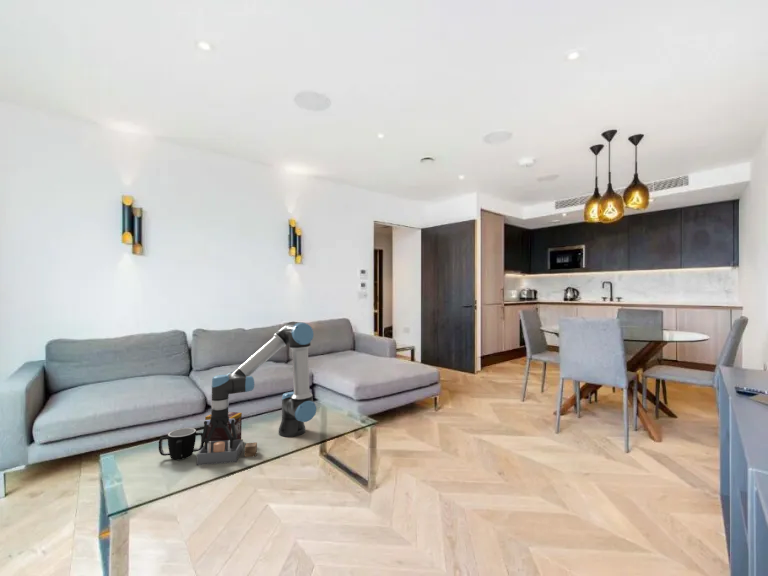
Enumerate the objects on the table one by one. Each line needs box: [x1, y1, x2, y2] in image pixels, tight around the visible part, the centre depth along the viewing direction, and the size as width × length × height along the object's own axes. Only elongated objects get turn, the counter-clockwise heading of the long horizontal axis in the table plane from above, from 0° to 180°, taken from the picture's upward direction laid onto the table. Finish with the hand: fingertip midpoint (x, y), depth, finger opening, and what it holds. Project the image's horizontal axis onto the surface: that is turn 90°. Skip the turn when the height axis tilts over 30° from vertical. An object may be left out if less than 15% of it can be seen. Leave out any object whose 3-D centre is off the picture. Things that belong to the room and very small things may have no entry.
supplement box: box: [203, 411, 243, 446], centre depth 194 cm, size 10×15×16 cm
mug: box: [158, 427, 205, 461], centre depth 177 cm, size 16×16×12 cm
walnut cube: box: [244, 442, 258, 458], centre depth 180 cm, size 5×5×5 cm
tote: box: [196, 438, 244, 466], centre depth 177 cm, size 17×15×5 cm
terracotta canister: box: [213, 441, 225, 453], centre depth 174 cm, size 5×5×7 cm
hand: (219, 455), depth 174 cm, fingers open, 8 cm apart
